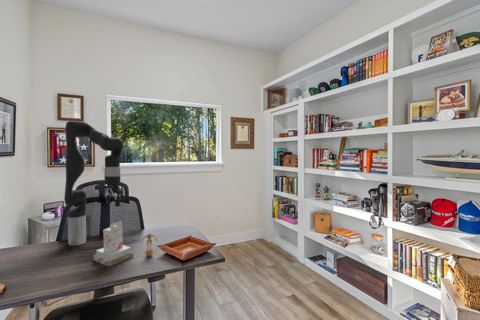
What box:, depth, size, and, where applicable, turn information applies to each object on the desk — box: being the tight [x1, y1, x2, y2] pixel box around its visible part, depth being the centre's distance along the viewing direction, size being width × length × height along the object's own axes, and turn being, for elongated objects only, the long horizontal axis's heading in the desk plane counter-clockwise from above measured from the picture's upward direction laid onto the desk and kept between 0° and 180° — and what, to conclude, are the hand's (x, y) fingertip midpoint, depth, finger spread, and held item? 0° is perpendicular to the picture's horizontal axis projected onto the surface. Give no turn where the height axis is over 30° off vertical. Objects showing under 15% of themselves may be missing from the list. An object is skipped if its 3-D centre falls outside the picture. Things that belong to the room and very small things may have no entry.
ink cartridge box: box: [102, 220, 124, 252], centre depth 133 cm, size 9×5×15 cm, turn 163°
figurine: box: [140, 233, 158, 257], centre depth 138 cm, size 8×6×12 cm
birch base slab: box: [92, 251, 134, 267], centre depth 134 cm, size 14×14×3 cm
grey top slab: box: [95, 244, 132, 261], centre depth 134 cm, size 12×12×3 cm
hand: (112, 205), depth 132 cm, fingers open, 8 cm apart
